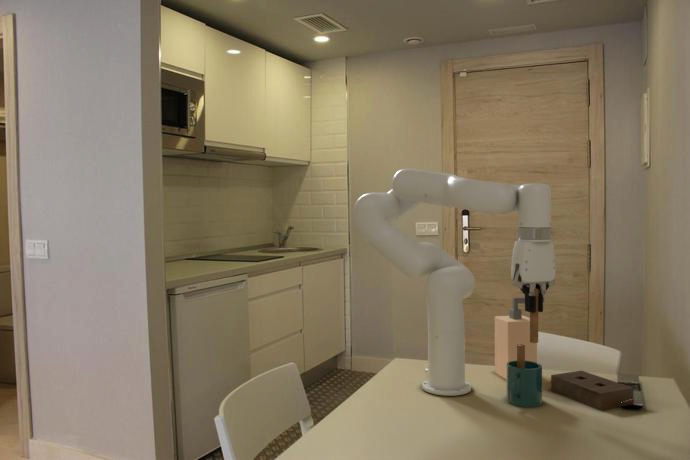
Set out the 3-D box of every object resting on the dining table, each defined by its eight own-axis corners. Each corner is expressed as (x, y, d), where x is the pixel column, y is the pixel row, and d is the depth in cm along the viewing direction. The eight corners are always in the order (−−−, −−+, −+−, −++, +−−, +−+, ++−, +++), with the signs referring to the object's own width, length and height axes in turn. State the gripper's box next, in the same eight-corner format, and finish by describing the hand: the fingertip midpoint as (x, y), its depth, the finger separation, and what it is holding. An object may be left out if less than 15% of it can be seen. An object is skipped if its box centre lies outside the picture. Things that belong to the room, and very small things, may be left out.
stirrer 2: (529, 342, 139) (529, 288, 139) (534, 341, 140) (534, 288, 139) (533, 343, 138) (533, 289, 138) (538, 342, 139) (538, 288, 138)
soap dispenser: (508, 381, 157) (508, 300, 156) (494, 372, 166) (494, 296, 165) (551, 378, 159) (551, 299, 159) (535, 369, 168) (535, 294, 167)
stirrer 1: (516, 396, 142) (516, 344, 142) (521, 396, 143) (521, 343, 142) (520, 398, 141) (520, 345, 140) (525, 397, 141) (525, 345, 141)
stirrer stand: (550, 390, 149) (550, 374, 149) (581, 385, 153) (581, 370, 153) (600, 410, 134) (600, 393, 134) (633, 404, 137) (633, 387, 137)
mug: (514, 393, 146) (514, 358, 146) (546, 400, 141) (546, 363, 141) (495, 406, 137) (495, 368, 137) (529, 413, 132) (529, 374, 132)
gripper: (549, 233, 145) (548, 306, 145) (497, 235, 139) (497, 311, 139) (571, 235, 138) (570, 311, 138) (518, 236, 132) (517, 316, 132)
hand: (533, 311), depth 139 cm, fingers closed on stirrer 2, 1 cm apart
